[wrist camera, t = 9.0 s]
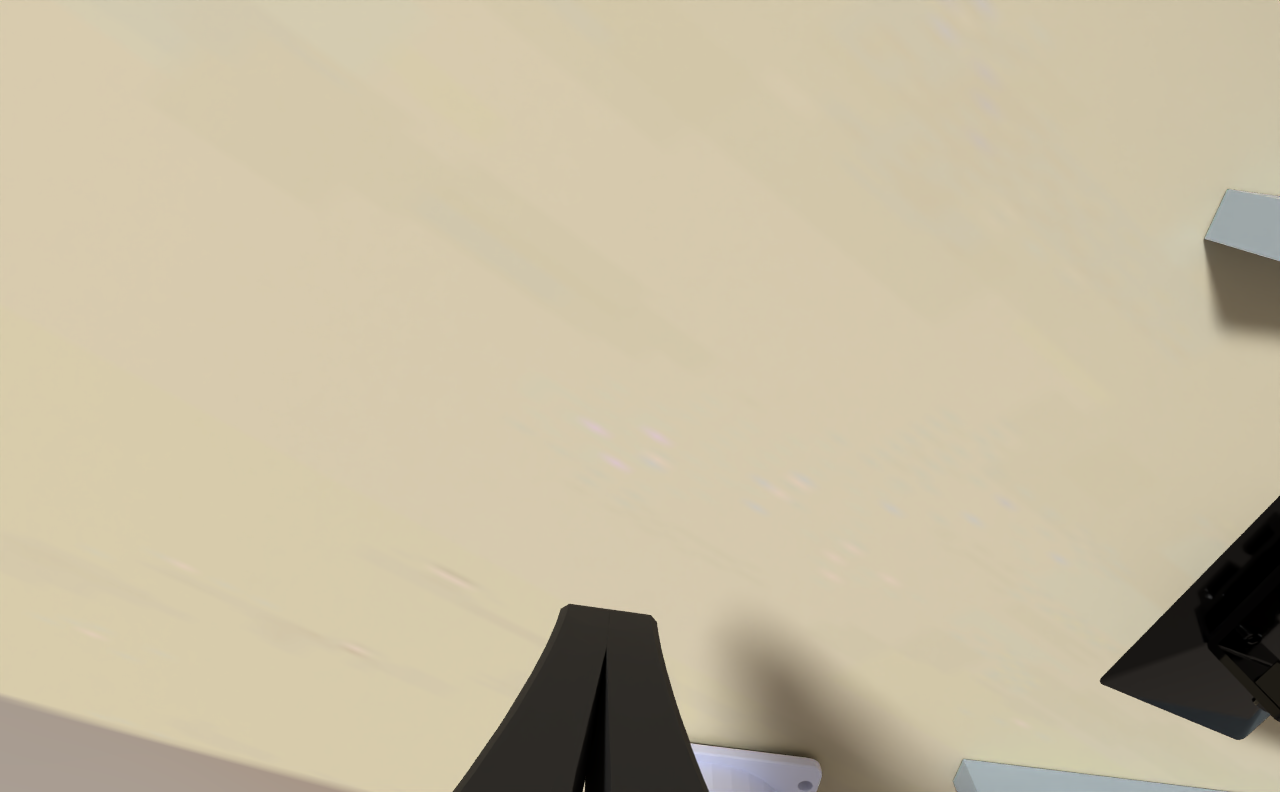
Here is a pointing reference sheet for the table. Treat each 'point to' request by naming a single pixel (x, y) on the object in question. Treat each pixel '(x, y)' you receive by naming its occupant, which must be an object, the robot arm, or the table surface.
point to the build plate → (1217, 641)
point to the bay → (1008, 788)
